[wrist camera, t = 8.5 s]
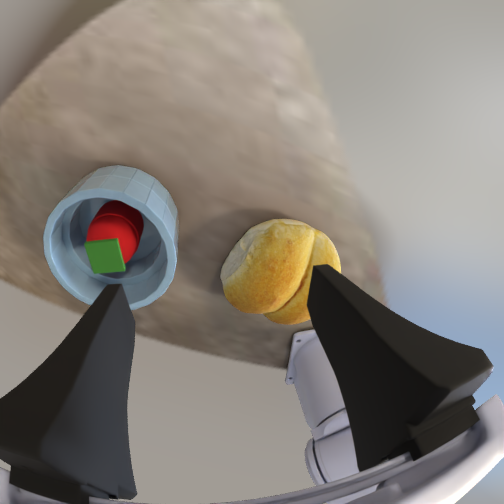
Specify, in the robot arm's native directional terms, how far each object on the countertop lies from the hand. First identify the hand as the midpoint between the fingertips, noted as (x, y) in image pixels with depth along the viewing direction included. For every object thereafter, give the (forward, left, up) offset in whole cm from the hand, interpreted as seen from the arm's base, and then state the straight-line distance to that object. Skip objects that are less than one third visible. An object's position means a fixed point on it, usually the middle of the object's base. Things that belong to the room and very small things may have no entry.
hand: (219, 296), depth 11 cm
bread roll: (-6, -5, -10) cm, 12 cm away
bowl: (-1, +6, -9) cm, 11 cm away
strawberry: (-1, +6, -9) cm, 11 cm away
